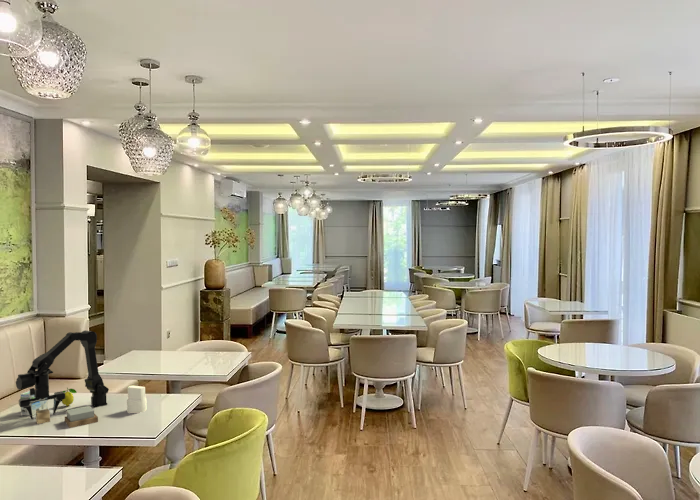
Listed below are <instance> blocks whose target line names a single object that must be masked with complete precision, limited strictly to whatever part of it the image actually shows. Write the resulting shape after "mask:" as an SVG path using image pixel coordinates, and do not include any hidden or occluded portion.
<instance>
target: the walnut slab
mask: <svg viewBox="0 0 700 500" xmlns="http://www.w3.org/2000/svg"><path fill="white" fill-rule="evenodd" d="M98 422H99V417H98V416H97V414H96V413H94V417H92V418H87V419H83V420H78V421H73V422H70V420H69V419H68V417H67V415H66V416H65V415H64V423H66V425H67V427H68V428H69V429H72V428H76V427H81V426H86V425H90V424H94V423H98Z"/></svg>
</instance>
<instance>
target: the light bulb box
mask: <svg viewBox="0 0 700 500" xmlns="http://www.w3.org/2000/svg"><path fill="white" fill-rule="evenodd" d="M19 397H20V399H21V398H27V397H29V399H33V398H35V397H34V395H31V396H30V390H28V391H25V392H23V393H20V395H19ZM44 399H45V398H44ZM37 400H40V399H37ZM48 402H49V400H44V401H39V402H33V403H30V406H31V410H32V416H34V415H35V416H36V411H39V410H44V409H48V410H49V406H48ZM20 415H21V416H30V415H29V412H28V410H27V409H26V408H23V407H20Z"/></svg>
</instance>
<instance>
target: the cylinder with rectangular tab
mask: <svg viewBox="0 0 700 500" xmlns="http://www.w3.org/2000/svg"><path fill="white" fill-rule="evenodd" d="M147 404H148V403H147V396H146V387H145V386H138V385H129V386H128V387H127V400H126V406H127V407H126V408H127V409H126V410H127V413H128V414H130V413H137V414H141V413H140V412H142V413H144V412H146V411H147Z"/></svg>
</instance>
